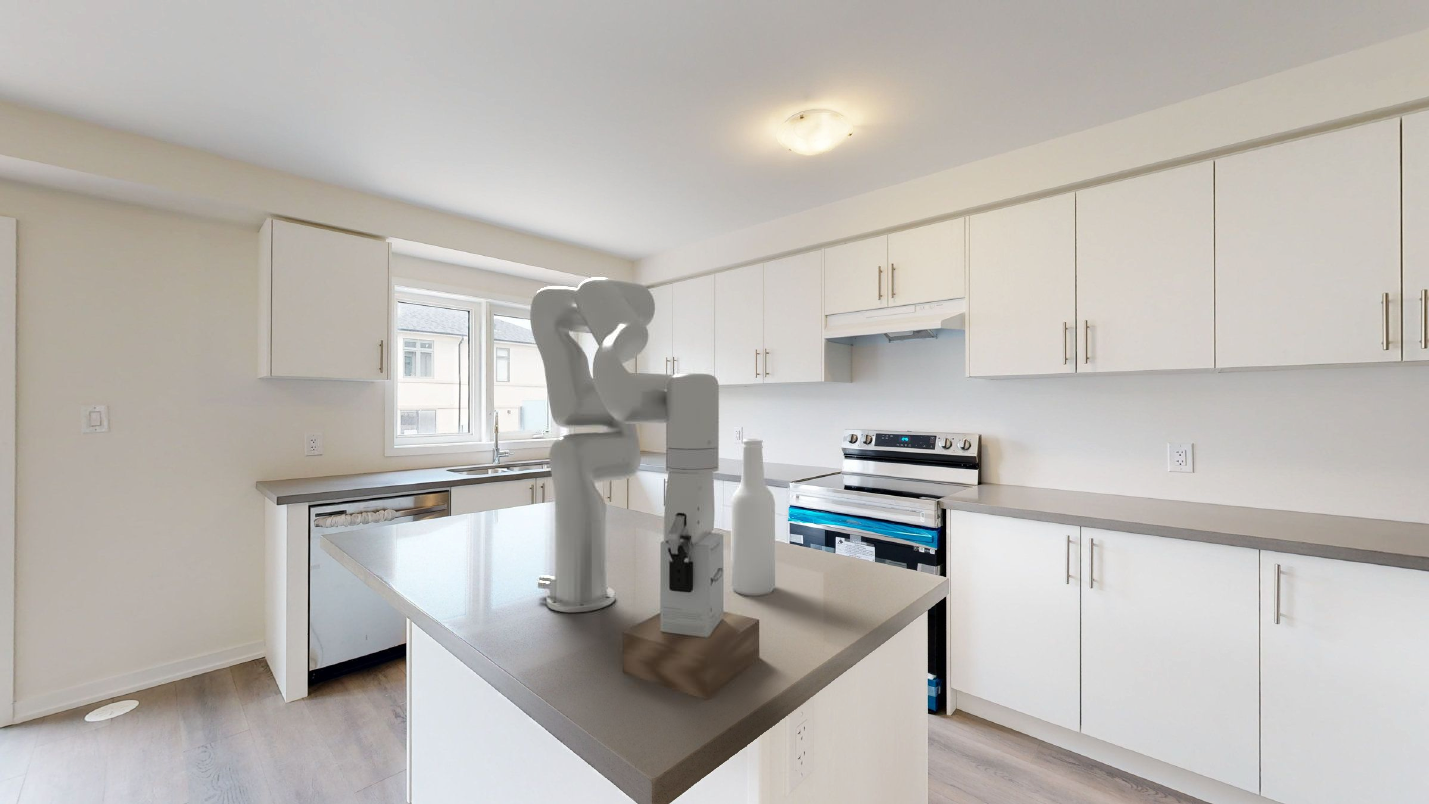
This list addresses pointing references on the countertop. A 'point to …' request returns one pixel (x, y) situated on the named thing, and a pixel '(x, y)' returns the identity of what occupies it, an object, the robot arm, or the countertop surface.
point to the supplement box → (694, 591)
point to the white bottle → (753, 527)
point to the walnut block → (691, 654)
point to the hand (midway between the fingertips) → (692, 579)
